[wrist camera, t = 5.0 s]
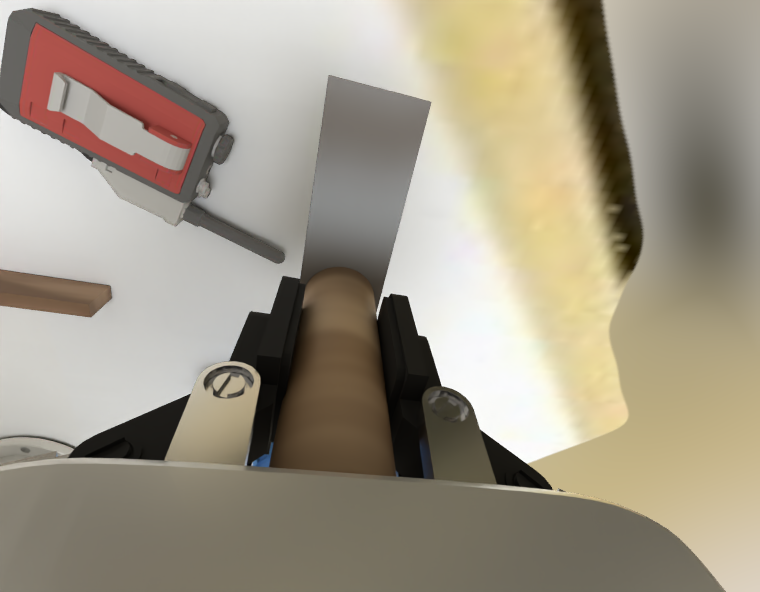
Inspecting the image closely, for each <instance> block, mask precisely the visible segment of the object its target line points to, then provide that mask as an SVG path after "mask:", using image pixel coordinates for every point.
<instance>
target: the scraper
mask: <svg viewBox="0 0 760 592" xmlns="http://www.w3.org/2000/svg"><path fill="white" fill-rule="evenodd" d="M430 106H431V102H430V101H426V100H422V99H419V98H415V97H411V96H407V95H404V94H400V93H396V92H392V91H388V90H384V89H381V88H377V87H373V86H369V85H365V84H361V83H358V82H354V81H350V80H346V79H342V78H338V77H335V76H330V75H329V76H328V84H327V91H326V98H325V105H324V112H323V119H322V127H321V134H320V141H319V148H318V155H317V163H316V170H315V177H314V184H313V191H312V199H311V206H310V213H309V220H308V227H307V234H306V242H305V249H304V256H303V263H302V270H301V278H300V283H301V284H306V287H305V294H304V300H303V307H302V313H301V318H300V323H299V328H298V333H297V338H296V343H295V349H294V354H293V359H292V364H291V369H290V374H289V379H288V384H287V389H286V395H285V396H284V398H283V401H282V404H281V409H280V414H279V419H278V424H277V429H276V434H275V439H274V444H273V449H272V453H271V458H270V463H269V467H271V468H286V469H300V470H314V471H327V472H341V473H355V474H368V475H381V476H395V477H396V469H395V461H394V453H393V445H392V437H391V429H390V421H389V413H388V405H387V397H386V389H385V380H384V372H383V364H382V356H381V348H380V340H379V332H378V324H377V316H376V312H377V308H378V304H379V300H380V296H381V293H382V289H383V285H384V281H385V277H386V274H387V270H388V266H389V262H390V258H391V254H392V251H393V247H394V243H395V239H396V235H397V232H398V228H399V224H400V220H401V216H402V212H403V209H404V205H405V201H406V197H407V193H408V190H409V186H410V182H411V178H412V174H413V170H414V167H415V163H416V159H417V155H418V151H419V148H420V144H421V140H422V136H423V132H424V128H425V125H426V121H427V117H428V113H429V109H430Z"/></svg>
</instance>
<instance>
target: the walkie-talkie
mask: <svg viewBox="0 0 760 592" xmlns="http://www.w3.org/2000/svg"><path fill="white" fill-rule="evenodd" d="M0 108H1V109H2V110H3V111H5V112H6V113H7V114H9V115H11V116H12V118H13V119H18V120H20V121H21V122H22V123H23V124H28V125H30V126H31V127H32V128H33V129H38V130H40V131H41V132H42V133H43V134H48V135H50V136H51V138H53V139H58V140H60V141H61V143H63V144H64V143H66V144H68V145H70V147H71V148H76V149H77V150H79V151H80V152H81V153H82V154H83V155H84V156H85V157H86V158H87V159H89V160H90V161H92V165H91V166H92V167H94V168H96V169H98V170H99V172H100V173H101V174H102V176H103V177H104V178H105V180H106V181H107V182H108V184H109V185H110V186H111V188H112V189H113V190H114V192H115V193H116V194H117V196H118V197H120V198H121V199H124V200H126V201H128V202H130V203H132V204H134V205H136V206H138V207H140V208H142V209H144V210H146V211H148V212H150V213H153V214H155V215H157V216H159V217H161V218H163V219H164V220H165V222H167V223H169V224H171V225H173V226H177V225H178V224H179V223H180V222H182V221H183V220H185V221H187V222H189V223H191V224H193V225H195V226H197V227H198V226H201V227H203V228H205V229H207V230H209V231H212V232H214V233H216V234H218V235H220V236H222V237H224V238H226V239H228V240H230V241H232V242H234V243H236V244H238V245H240V246H242V247H244V248H246V249H248V250H250V251H252V252H254V253H256V254H258V255H260V256H262V257H264V258H266V259H269V260H271V261H273V262H275V263H277V264H280V263H282V262H283V261H284V260H285V256H284V254H283V252H281V251H279V250H277V249H275V248H273V247H271V246H269V245H267V244H265V243H263V242H261V241H259V240H257V239H255V238H253V237H251V236H249V235H247V234H245V233H243V232H241V231H239V230H237V229H235V228H233V227H231V226H229V225H227V224H225V223H223V222H221V221H219V220H217V219H215V218H213V217H211V216H209V215H207V214H206V213H205V211H203V210H201V209H199V208H197V207H195V206H193V205H191V201H192V200H193V199H195V198H196V197H197V196H198V197H201V196H202V197H204V198H207V197H208V195H209V193H210V191H211V189H210V188H209V183H208V182H206V179H207V176H208V174H209V171H210V169H211V166H212V164H213V161H214V162H215V163H217V164H219V165H220V164H222V163H223V162H224V161H225V159H226V158H227V156H228V154H229V152H230V150H231V147H232V144H233V139H232V137H231V136H229V135H224V134H225V131H226V129H227V126H228V124H229V120H228V118H227V117H226V115H225V114H224V113H222V112H221V111H219V110H217V108H216V107H214V106H212V105H211V104H209V103H207V102H206V101H202V100H201V99H199V98H197V97H196V96H194V95H192V94H191V93H189V92H187V91H186V89H184V88H182V87H181V86H179V85H177V84H176V83H174V82H172V81H169V80H167V79H166V78H164V77H162V76H161V75H156V74H154V71H152V70H148V69H146V68H145V66H144V65H141V64H137V63H136V61H135V60H134V59H129V58H127V55H125V54H122V53H119V52H118V50H117V49H115V48H111V47H109V45H108V44H107V43H105V42H101V41H99V38H97V37H93V36H91V35H90V34H89V32H87V31H83V30H81V29H80V27H79V26H77V25H73V24H70V21H69V20H67V19H63V18H60V15H59V14H54V13H50V12H46V11H42V10H37V9H33V8H29V9H23V10H18V11H13V12H12V13H11V15H10V16H9V19H8V23H7V29H6V36H5V43H4V50H3V58H2V65H1V72H0Z"/></svg>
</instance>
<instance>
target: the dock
mask: <svg viewBox="0 0 760 592" xmlns="http://www.w3.org/2000/svg"><path fill="white" fill-rule="evenodd" d="M111 298H112V296H111V288H110V286H108V285H101V284H94V283H88V282H81V281H74V280H67V279H60V278H53V277H46V276H40V275H33V274H26V273H19V272H12V271H5V270H0V306H8V307H16V308H23V309H31V310H38V311H46V312H54V313H61V314H69V315H77V316H84V317H92V316H93V315H94V314H95V313H96V312H97V311H98V310H100V309H101V308H102V307H103V306H104V305H105V304H106V303H107V302H108V301H109V300H110V299H111Z"/></svg>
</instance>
